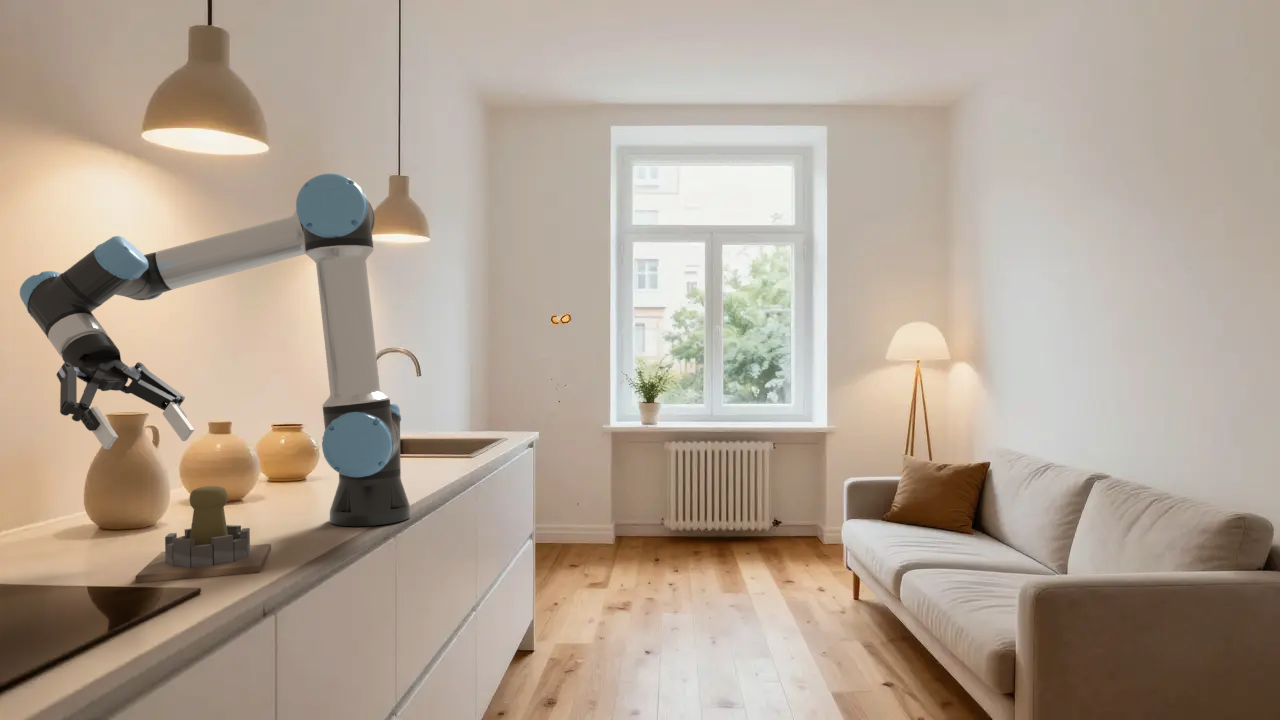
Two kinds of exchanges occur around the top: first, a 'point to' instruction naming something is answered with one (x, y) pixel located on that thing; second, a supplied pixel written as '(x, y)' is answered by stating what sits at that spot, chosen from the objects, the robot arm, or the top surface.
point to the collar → (206, 557)
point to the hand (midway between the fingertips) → (152, 439)
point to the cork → (208, 514)
